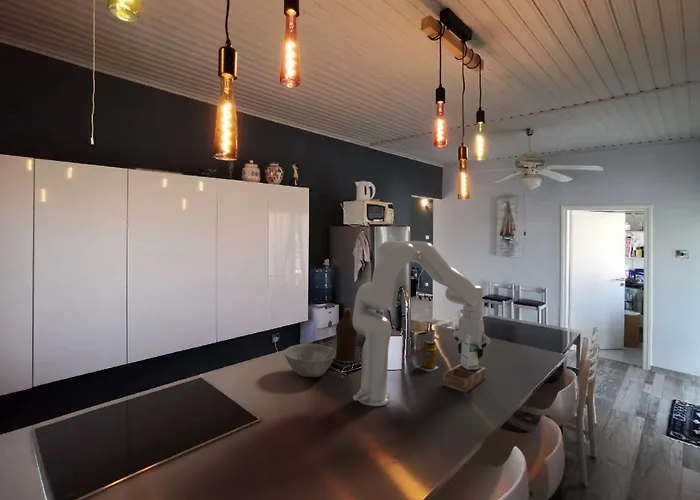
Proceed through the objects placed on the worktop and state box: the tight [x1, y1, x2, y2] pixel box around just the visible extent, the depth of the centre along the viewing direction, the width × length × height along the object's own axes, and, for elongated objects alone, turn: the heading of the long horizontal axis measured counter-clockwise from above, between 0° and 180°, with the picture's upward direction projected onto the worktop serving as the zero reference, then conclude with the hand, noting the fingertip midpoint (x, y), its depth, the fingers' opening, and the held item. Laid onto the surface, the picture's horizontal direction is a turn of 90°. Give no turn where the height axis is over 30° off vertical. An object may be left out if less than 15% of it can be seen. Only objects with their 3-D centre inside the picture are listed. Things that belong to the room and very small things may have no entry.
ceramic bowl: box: [283, 343, 336, 378], centre depth 162 cm, size 22×23×10 cm
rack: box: [442, 363, 487, 393], centre depth 159 cm, size 19×10×5 cm, turn 138°
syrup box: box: [460, 335, 481, 370], centre depth 162 cm, size 6×6×14 cm
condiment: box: [415, 339, 440, 372], centre depth 175 cm, size 7×8×12 cm
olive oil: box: [335, 307, 359, 361], centre depth 180 cm, size 11×11×25 cm
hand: (470, 354), depth 162 cm, fingers closed on syrup box, 7 cm apart
